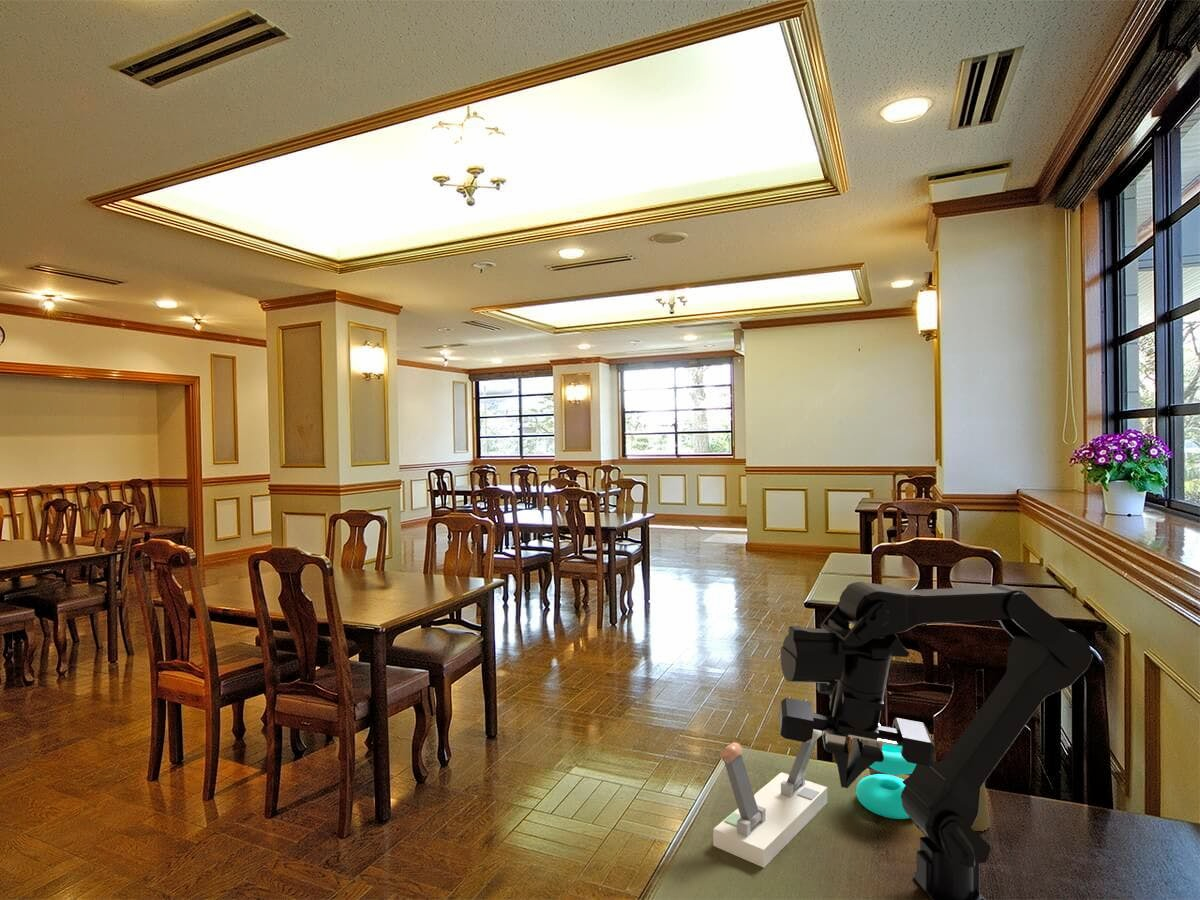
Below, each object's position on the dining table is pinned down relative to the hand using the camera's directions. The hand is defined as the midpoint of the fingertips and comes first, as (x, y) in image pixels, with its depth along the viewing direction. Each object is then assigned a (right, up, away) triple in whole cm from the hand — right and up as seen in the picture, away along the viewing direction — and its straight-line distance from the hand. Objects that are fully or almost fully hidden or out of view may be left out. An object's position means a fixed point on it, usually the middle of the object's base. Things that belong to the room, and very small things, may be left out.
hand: (843, 785), depth 92 cm
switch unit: (-6, -12, +13) cm, 19 cm away
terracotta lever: (-11, -9, +8) cm, 16 cm away
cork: (+24, -12, +14) cm, 30 cm away
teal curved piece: (+14, -12, +18) cm, 26 cm away
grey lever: (-2, -9, +18) cm, 20 cm away
